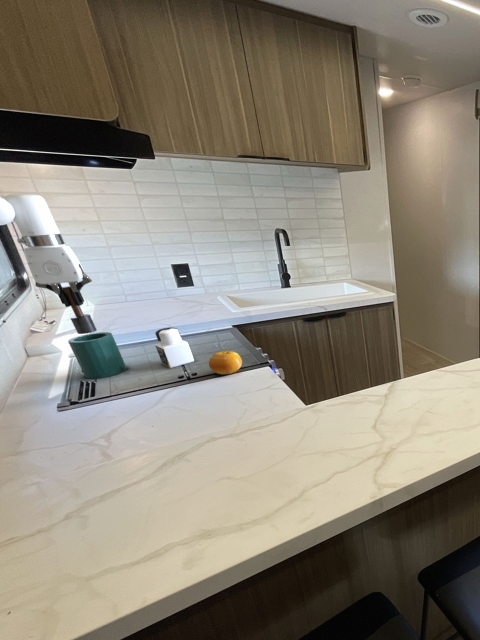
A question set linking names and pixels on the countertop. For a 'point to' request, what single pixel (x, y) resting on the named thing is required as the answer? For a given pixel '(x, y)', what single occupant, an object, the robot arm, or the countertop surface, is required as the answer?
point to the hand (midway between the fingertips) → (74, 305)
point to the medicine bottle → (172, 348)
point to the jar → (97, 355)
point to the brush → (79, 315)
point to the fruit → (225, 362)
